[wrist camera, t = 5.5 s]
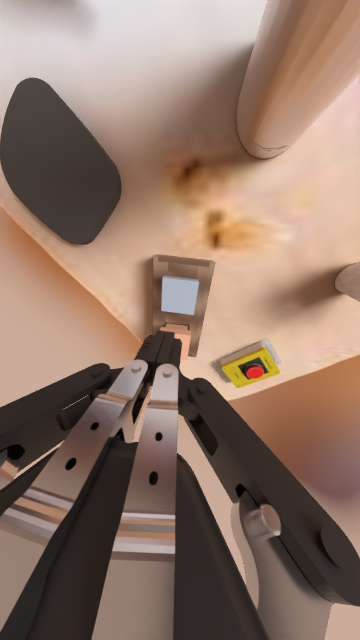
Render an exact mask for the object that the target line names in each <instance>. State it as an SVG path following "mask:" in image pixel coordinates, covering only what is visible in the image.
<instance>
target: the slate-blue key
mask: <svg viewBox="0 0 360 640" xmlns="http://www.w3.org/2000/svg"><path fill="white" fill-rule="evenodd" d="M198 286H199V280H197V279H189V278H181V277H172V276H164V277H163V279H162V305H161V311H166V312H174V313H182V314H189V315H194V311H195V305H196V299H197V292H198Z"/></svg>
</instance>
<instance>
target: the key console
mask: <svg viewBox="0 0 360 640" xmlns="http://www.w3.org/2000/svg"><path fill="white" fill-rule="evenodd" d="M214 266H215V262H214V261H211V260H202V259H194V258H185V257H176V256H167V255H153V335H154V336H155V334H156V331H157V330H160V328H161V327H165V326H166V324H167V323H169V324H176V325H184V326H188V331H191V339H190V345H189V351H188V356H191V357H196V355H197V350H198V345H199V340H200V335H201V330H202V325H203V320H204V315H205V310H206V305H207V300H208V296H209V291H210V286H211V281H212V276H213V271H214ZM164 276H172V277H181V278H189V279H197V280H199V286H198V292H197V299H196V305H195V311H194V315H189V314H182V313H174V312H166V311H161V305H162V279H163V277H164Z"/></svg>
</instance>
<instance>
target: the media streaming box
mask: <svg viewBox="0 0 360 640" xmlns="http://www.w3.org/2000/svg"><path fill="white" fill-rule="evenodd" d="M0 161H1V166H2V169H3V172H4V175H5V178H6V180H7V182H8V184H9V186H10V188H11V189H12V191H13V192H14V194H15V195H16V196H17V197H18V198H19V199H20V200H21V201H22V202H23V204H24V205H25V206H26V207H27V208H28V209H29V210H30V211H31V212H32V213H33V214H34V215H36V216H37V217H38V218H39V219H40V220H41V221H42V222H43V223H44V224H45V225H47V226H48V227H49V228H50V229H51V230H53V231H54V232H55V233H56V234H58V235H59V236H60V237H61V238H63V239H64V240H66V241H68V242H71V243H75V244H88V243H91V242H92V241H93V240H94V239H95V238H96V236H97V235H98V234H99V232H100V231H101V229H102V228H103V226H104V225H105V223H106V222H107V220H108V218H109V217H110V215H111V213H112V212H113V210H114V208H115V207H116V205H117V203H118V201H119V199H120V195H121V181H120V176H119V173H118V170H117V168H116V166H115V164H114V163H113V162H112V160H111V159H110V158H109V156H108V155H107V153H106V152H105V151H104V150H103V148H102V147H101V146H100V144H99V143H98V142H97V140H96V139H95V138H94V137H93V135H92V134H91V133H90V132H89V130H88V129H87V128H86V127H85V126H84V124H83V123H82V122H81V121H80V120H79V118H78V117H77V116H76V115H75V114H74V113H73V111H72V110H71V109H70V108H69V107H68V106H67V105H66V103H65V102H64V101H63V100H62V99H61V98H60V97H59V96H58V94H57V93H56V92H55V91H54V90H53V89H52V88H51V87H50V85H49V84H47V83H46V82H45V81H43V80H41V79H38V78H27V79H25V80H23V81H21V82H20V83H19V84H18V85H17V87H16V89H15V91H14V93H13V95H12V97H11V99H10V102H9V105H8V107H7V111H6V114H5V118H4V122H3V127H2V132H1V140H0Z"/></svg>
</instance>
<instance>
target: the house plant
mask: <svg viewBox="0 0 360 640" xmlns="http://www.w3.org/2000/svg"><path fill="white" fill-rule="evenodd" d="M335 287H336V289H337V290H338V291H340V292H342V293H344V294H346V295H348V296H350V297H352V298H353V299H355V300H357V301H359V302H360V262H359V263H355V264H352V265H350V266H348V267H346V268H344V269H343V270H342V271H341V272H340V273H339V274H338V276H337V277H336V280H335Z"/></svg>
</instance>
